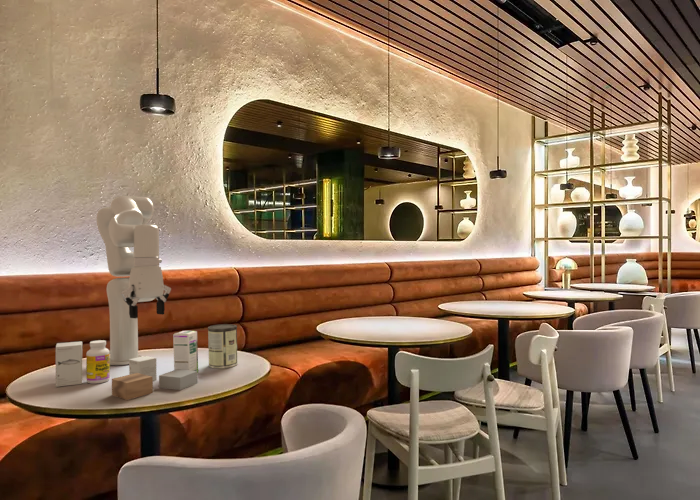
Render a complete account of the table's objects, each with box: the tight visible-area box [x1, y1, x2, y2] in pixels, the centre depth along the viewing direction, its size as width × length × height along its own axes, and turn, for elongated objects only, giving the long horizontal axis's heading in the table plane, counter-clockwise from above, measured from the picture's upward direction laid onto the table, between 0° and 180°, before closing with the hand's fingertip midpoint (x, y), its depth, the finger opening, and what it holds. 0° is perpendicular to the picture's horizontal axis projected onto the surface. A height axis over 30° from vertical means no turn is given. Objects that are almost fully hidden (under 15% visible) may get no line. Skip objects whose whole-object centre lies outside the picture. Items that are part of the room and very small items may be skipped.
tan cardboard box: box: [111, 373, 154, 401], centre depth 143 cm, size 8×8×5 cm
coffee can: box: [207, 323, 238, 369], centre depth 177 cm, size 10×10×14 cm
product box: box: [128, 355, 158, 382], centre depth 157 cm, size 6×6×7 cm
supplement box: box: [55, 341, 83, 388], centre depth 155 cm, size 7×7×13 cm
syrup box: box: [172, 330, 199, 374], centre depth 164 cm, size 6×6×14 cm
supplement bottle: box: [85, 339, 111, 384], centre depth 157 cm, size 7×7×13 cm
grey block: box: [158, 369, 199, 391], centre depth 152 cm, size 8×8×4 cm
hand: (147, 316), depth 157 cm, fingers open, 9 cm apart
